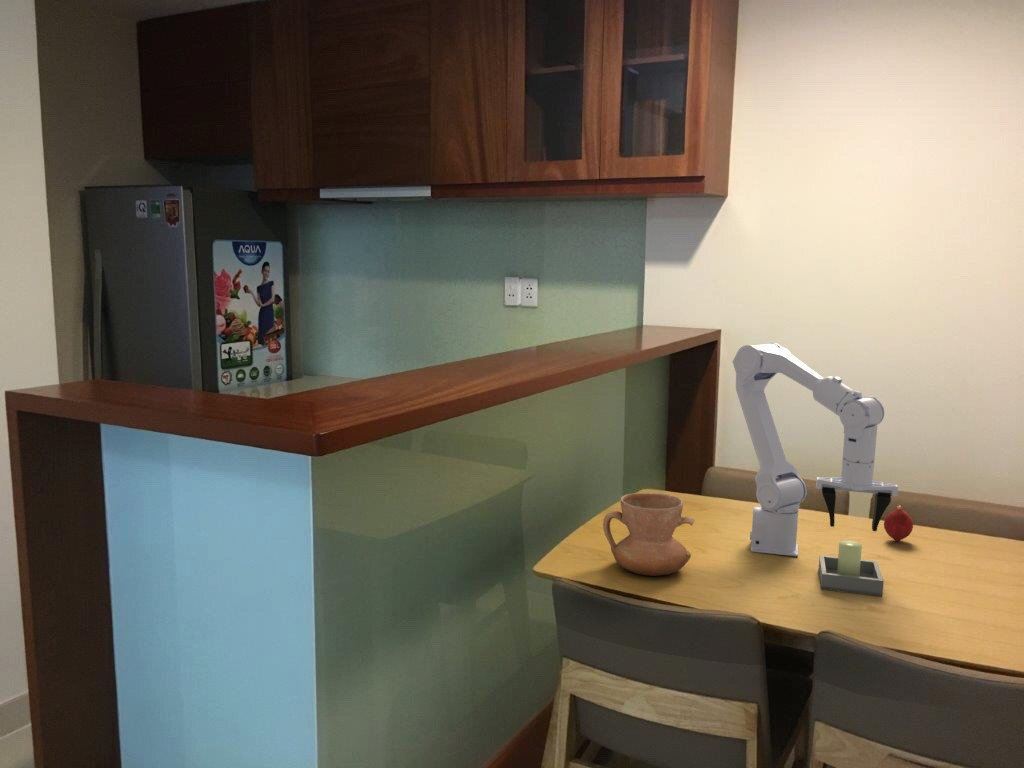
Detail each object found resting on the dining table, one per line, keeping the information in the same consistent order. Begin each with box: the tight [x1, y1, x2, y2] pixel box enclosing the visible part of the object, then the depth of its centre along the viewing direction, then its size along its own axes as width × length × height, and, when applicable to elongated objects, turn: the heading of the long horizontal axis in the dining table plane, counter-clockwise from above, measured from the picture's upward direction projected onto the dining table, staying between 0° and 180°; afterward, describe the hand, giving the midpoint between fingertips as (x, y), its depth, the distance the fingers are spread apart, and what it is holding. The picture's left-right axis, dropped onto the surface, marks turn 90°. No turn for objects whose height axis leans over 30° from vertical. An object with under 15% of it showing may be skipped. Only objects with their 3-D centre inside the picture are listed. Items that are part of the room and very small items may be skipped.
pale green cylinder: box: [837, 540, 862, 577], centre depth 160 cm, size 4×4×7 cm
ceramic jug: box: [602, 492, 696, 577], centre depth 166 cm, size 18×14×14 cm
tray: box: [818, 554, 885, 597], centre depth 160 cm, size 11×11×3 cm
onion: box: [883, 504, 914, 542], centre depth 184 cm, size 6×6×8 cm
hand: (852, 527), depth 164 cm, fingers open, 7 cm apart
